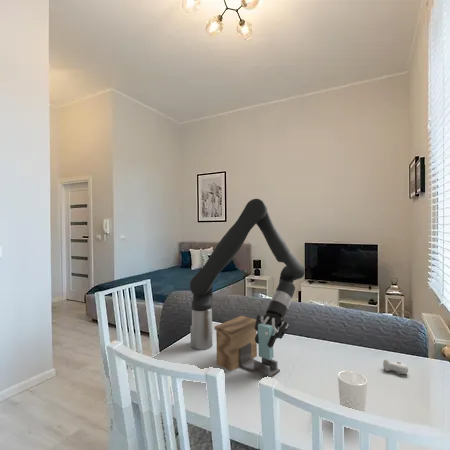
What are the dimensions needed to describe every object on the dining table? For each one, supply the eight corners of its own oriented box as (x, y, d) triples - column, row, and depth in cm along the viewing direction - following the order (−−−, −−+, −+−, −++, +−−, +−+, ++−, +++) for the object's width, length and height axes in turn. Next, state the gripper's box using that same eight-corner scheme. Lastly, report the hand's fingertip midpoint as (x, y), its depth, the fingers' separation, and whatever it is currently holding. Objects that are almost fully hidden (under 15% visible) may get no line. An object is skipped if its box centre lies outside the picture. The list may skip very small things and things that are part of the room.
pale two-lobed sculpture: (408, 375, 106) (408, 377, 102) (383, 369, 110) (382, 370, 106) (408, 362, 107) (408, 364, 103) (383, 357, 111) (383, 358, 107)
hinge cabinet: (215, 364, 114) (214, 326, 113) (241, 349, 126) (241, 315, 126) (261, 385, 98) (260, 341, 98) (286, 366, 111) (286, 327, 111)
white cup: (365, 405, 87) (365, 373, 87) (369, 422, 79) (369, 387, 79) (337, 400, 89) (337, 369, 89) (339, 416, 82) (338, 382, 82)
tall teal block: (257, 357, 108) (256, 325, 107) (262, 353, 110) (261, 322, 110) (268, 361, 104) (267, 328, 104) (273, 357, 107) (272, 325, 107)
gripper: (260, 297, 118) (243, 335, 109) (291, 303, 108) (275, 345, 99) (268, 306, 121) (251, 344, 113) (298, 313, 112) (283, 354, 103)
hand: (262, 344), depth 106 cm, fingers closed on tall teal block, 5 cm apart
